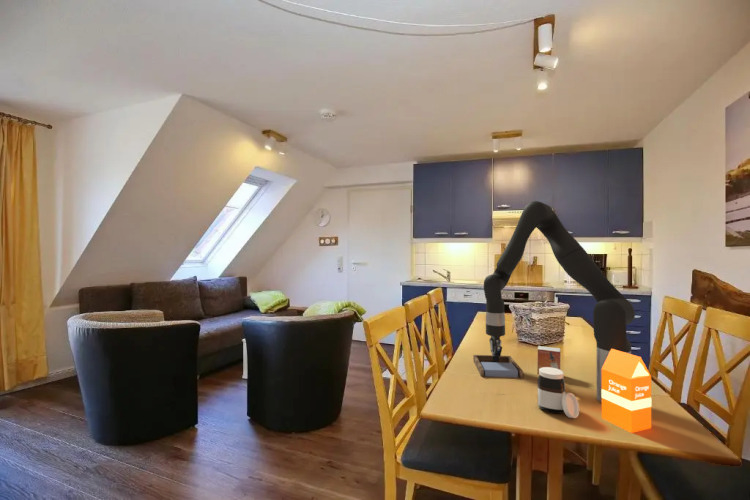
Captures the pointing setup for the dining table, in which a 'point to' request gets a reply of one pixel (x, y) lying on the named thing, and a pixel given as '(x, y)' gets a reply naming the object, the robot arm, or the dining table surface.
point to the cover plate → (499, 369)
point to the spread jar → (555, 393)
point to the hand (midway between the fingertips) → (495, 365)
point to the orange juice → (626, 391)
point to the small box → (548, 357)
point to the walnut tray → (502, 359)
